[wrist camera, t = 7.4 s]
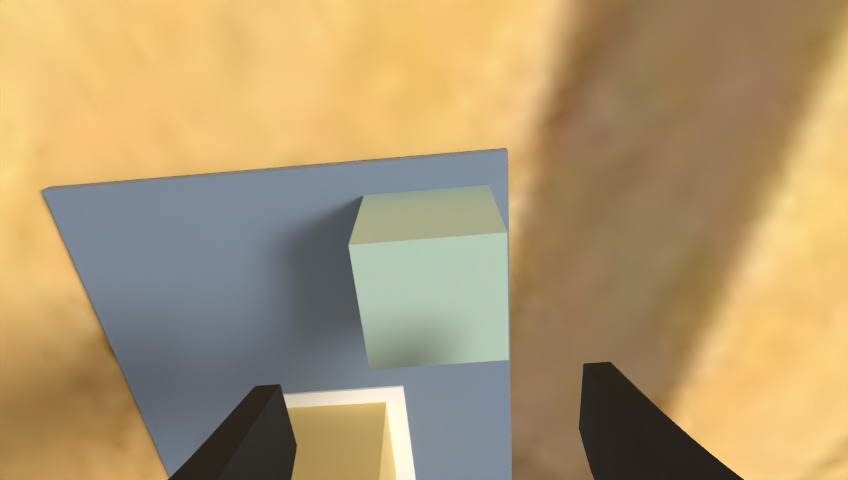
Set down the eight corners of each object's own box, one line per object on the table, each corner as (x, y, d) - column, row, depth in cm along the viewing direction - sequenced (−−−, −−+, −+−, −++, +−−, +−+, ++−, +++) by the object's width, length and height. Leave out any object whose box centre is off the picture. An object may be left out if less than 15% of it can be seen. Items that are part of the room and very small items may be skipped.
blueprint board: (184, 495, 25) (179, 504, 25) (49, 187, 18) (39, 191, 18) (510, 474, 25) (512, 483, 24) (505, 148, 18) (508, 151, 17)
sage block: (379, 300, 20) (369, 369, 16) (363, 195, 18) (348, 244, 14) (492, 292, 20) (508, 360, 16) (488, 184, 18) (507, 232, 14)
